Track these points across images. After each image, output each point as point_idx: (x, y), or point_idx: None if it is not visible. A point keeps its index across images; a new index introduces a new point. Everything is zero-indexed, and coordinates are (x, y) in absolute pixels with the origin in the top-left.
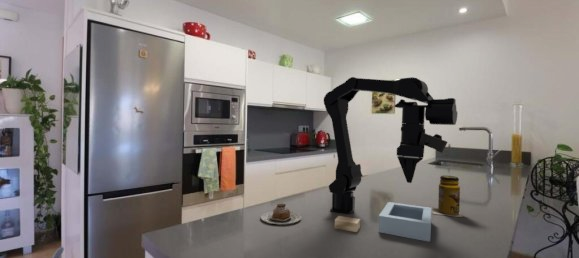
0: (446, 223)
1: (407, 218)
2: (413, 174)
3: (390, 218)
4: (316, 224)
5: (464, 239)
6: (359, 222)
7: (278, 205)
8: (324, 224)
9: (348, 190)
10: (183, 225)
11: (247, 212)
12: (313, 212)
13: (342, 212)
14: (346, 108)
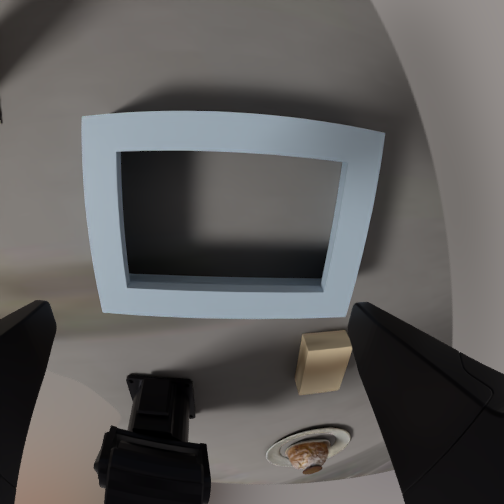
0: (90, 60)
1: (347, 220)
2: (430, 336)
3: (354, 278)
4: (319, 404)
5: (270, 8)
6: (316, 345)
7: (317, 470)
8: (313, 395)
9: (159, 443)
10: (372, 473)
11: (293, 476)
12: (230, 432)
13: (193, 394)
14: None
